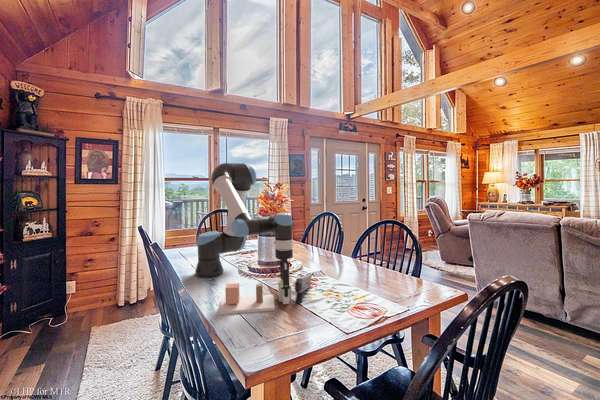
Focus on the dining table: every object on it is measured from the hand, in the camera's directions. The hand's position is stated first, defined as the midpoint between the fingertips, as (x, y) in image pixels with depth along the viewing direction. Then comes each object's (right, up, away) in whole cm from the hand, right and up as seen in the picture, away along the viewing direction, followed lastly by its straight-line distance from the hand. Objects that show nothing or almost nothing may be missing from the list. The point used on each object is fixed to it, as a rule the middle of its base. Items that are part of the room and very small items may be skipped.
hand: (285, 298), depth 132 cm
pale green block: (0, 0, 0) cm, 0 cm away
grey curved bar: (+8, 0, +5) cm, 10 cm away
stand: (-15, -1, -6) cm, 17 cm away
